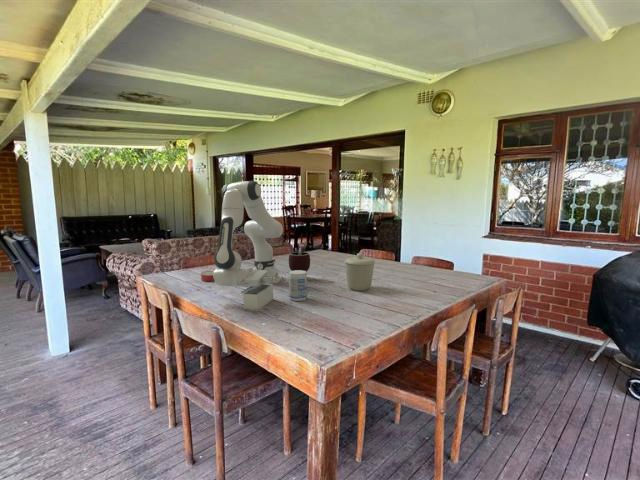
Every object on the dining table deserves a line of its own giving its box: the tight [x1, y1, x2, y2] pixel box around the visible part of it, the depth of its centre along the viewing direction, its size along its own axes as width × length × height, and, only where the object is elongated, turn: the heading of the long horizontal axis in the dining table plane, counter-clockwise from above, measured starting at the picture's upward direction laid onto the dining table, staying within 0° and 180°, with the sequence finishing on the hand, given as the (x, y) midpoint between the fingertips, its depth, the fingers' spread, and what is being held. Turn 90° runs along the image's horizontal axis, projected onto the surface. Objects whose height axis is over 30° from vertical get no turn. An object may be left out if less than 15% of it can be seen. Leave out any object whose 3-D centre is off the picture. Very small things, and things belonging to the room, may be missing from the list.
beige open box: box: [242, 284, 274, 312], centre depth 182 cm, size 20×7×8 cm, turn 164°
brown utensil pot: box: [288, 246, 311, 282], centre depth 233 cm, size 16×14×20 cm
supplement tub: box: [288, 270, 308, 302], centre depth 191 cm, size 10×10×15 cm
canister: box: [343, 252, 376, 292], centre depth 211 cm, size 18×18×21 cm
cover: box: [240, 281, 267, 295], centre depth 181 cm, size 20×9×1 cm, turn 165°
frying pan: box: [200, 270, 215, 283], centre depth 243 cm, size 32×13×6 cm, turn 170°
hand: (272, 278), depth 180 cm, fingers closed
